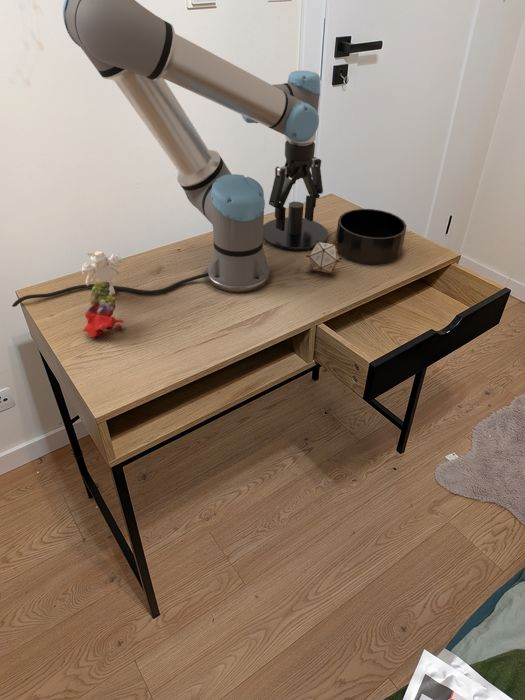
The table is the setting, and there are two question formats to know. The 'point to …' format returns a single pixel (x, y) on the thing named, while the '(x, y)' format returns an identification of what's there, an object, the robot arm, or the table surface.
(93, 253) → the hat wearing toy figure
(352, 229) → the pan
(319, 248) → the game die
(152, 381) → the table surface
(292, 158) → the robot arm
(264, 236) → the pan lid
